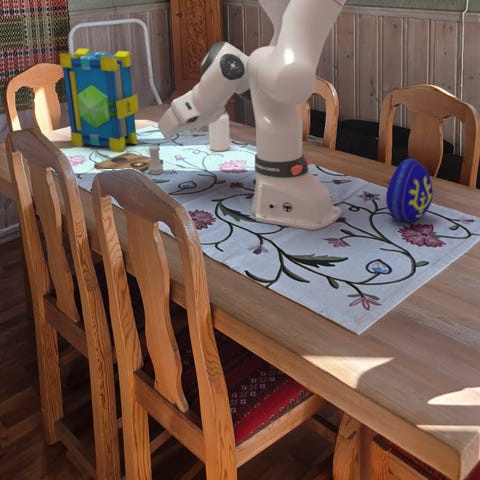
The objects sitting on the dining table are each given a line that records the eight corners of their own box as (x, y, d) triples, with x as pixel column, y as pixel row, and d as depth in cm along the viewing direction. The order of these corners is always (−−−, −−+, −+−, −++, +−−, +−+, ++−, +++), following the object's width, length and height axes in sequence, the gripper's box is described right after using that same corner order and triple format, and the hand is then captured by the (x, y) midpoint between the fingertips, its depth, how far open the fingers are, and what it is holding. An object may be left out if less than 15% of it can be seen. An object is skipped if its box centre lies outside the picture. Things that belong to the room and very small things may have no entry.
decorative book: (119, 154, 217) (109, 58, 204) (63, 146, 227) (50, 53, 214) (145, 142, 228) (137, 50, 216) (90, 135, 238) (80, 46, 226)
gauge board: (163, 163, 207) (162, 159, 207) (130, 177, 197) (130, 172, 197) (127, 155, 215) (127, 152, 215) (94, 168, 205) (93, 164, 205)
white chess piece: (161, 175, 198) (159, 148, 195) (146, 174, 199) (144, 148, 195) (165, 170, 202) (163, 144, 198) (151, 169, 203) (149, 143, 199)
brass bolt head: (145, 163, 204) (145, 162, 204) (138, 166, 202) (138, 165, 201) (138, 162, 205) (138, 161, 205) (131, 164, 203) (131, 163, 203)
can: (233, 147, 220) (232, 110, 215) (222, 152, 216) (221, 115, 211) (217, 144, 224) (215, 108, 219) (205, 150, 219) (203, 113, 214)
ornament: (405, 231, 158) (410, 169, 152) (376, 219, 165) (379, 159, 158) (436, 219, 164) (443, 159, 157) (407, 208, 170) (411, 149, 164)
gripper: (224, 87, 186) (200, 117, 196) (167, 101, 172) (145, 132, 182) (236, 106, 185) (212, 135, 195) (180, 121, 171) (157, 152, 181)
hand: (179, 134), depth 189 cm, fingers open, 8 cm apart
